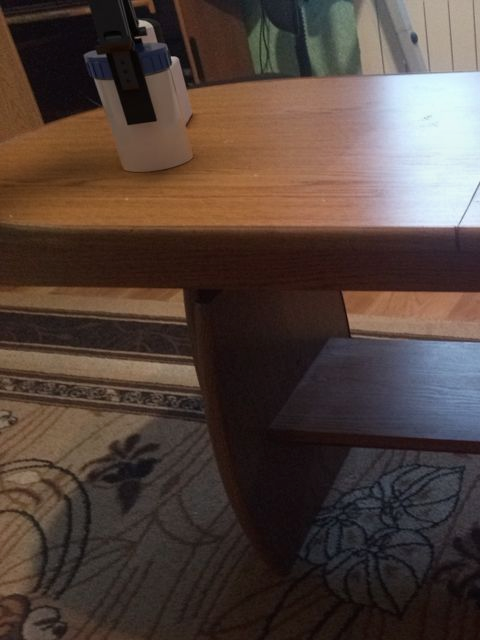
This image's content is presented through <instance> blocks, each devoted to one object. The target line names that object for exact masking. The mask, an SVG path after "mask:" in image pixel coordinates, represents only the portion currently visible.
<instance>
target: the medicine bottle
mask: <svg viewBox="0 0 480 640" xmlns="http://www.w3.org/2000/svg"><path fill="white" fill-rule="evenodd" d="M137 19H138V20H139V27H146V30H147V35H148V36H141V37H135V38H142V42H143V43H164V44H166V42H165V38H164V34H163V30H162V26H161V24H160V23H159V21H157V20H155V19H152V18H149V17H148V18H137ZM171 60H172V65H171V66H170V69H171V73H172V77H173V80H174V84H175V88H176V92H177V95H178V99H179V103H180V107H181V110H182V114H183V118H184V122H185V126H187V124H188V123H189V121H190V119H191V116H192V115H193V108H192V104H191V101H190V97H189V92H188V90H187V86H186V81H185V78H184V73H183V70H182V65H181V62H180V59H179V57H177V56H171Z"/></svg>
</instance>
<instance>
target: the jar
mask: <svg viewBox="0 0 480 640" xmlns="http://www.w3.org/2000/svg"><path fill="white" fill-rule="evenodd" d="M144 76H145V79H146V83H147V86H148V90H149V93H150V97H151V100H152V104H153V107H154V111H155V114H156V118H157V121H156V122H149V123H141V124H134V125H127V122H126V119H125V115H124V112H123V109H122V105H121V102H120V99H119V96H118V92H117V89H116V86H115V83H114V79H113V78H94V77H93V80H94V83H95V87H96V90H97V93H98V97H99V99H100V101H101V104H102V109H103V111H104V114H105V117H106V118H105V119H106V121H107V124H108V128H109V130H110V133H111V136H112V140H113V142H114V146H115V149H116V153H117V156H118V158H119V162H120V164H121V168H122V169H123V170H124V171H126V172H131V173H147V172H148V173H149V172H157V171H163V170H168V169H171V168H175V167H178V166H181V165H184V164H186V163H188V162H190V161H192V159H193V158H194V152H193V148H192V145H191V141H190V138H189V134H188V129H187V125H185V122H184V118H183V114H182V110H181V107H180V103H179V99H178V95H177V92H176V88H175V84H174V80H173V77H172V73H171V69H170V67H169V68H167V69H164V70H161V71H158V72H154V73H149V74H144Z"/></svg>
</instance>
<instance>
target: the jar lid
mask: <svg viewBox="0 0 480 640" xmlns="http://www.w3.org/2000/svg"><path fill="white" fill-rule="evenodd" d="M134 50H137V51H138V54H139V58H140V61H141V65H142V69H143V72H144V74H149V73H154V72H158V71H161V70H164V69H167V68H169V67H170V66H171V65H172V60H171V57H172V56H171V52H170V49H169V48H168V44H167V43H165V44H164V43H138V44H135V47H134ZM83 58H84V64H85V66H86V70H87V72H88V73H87V74H88V75H89V76H90V77H91V78H93V79H94V78H113V76H112V73H111V70H110V66H109V63H108V60H107V56H106V54H103V55H97V53H96V50H91V51H87V52H86V53H84V54H83Z"/></svg>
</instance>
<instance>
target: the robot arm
mask: <svg viewBox="0 0 480 640" xmlns="http://www.w3.org/2000/svg"><path fill="white" fill-rule="evenodd" d="M87 3H88V6H89V9H90V13H91V17H92V20H93V24H94V27H95V30H96V35H97V37H98V39H97V43H98V45H94V49H95V50H96V53H97V55H103V54H106V56H107V60H108V63H109V66H110V70H111V73H112V76H113V79H114V83H115V86H116V89H117V92H118V96H119V99H120V102H121V105H122V109H123V112H124V115H125V119H126V122H127V125H134V124H141V123H149V122H156V121H157V118H156V114H155V111H154V107H153V104H152V100H151V97H150V93H149V90H148V86H147V83H146V79H145V76H144V72H143V69H142V65H141V61H140V58H139V54H138V51H137V50H134V47H135V44H138V43H143V42H142V38H135V37H141V36H148V35H147V30H146V27H139V20H138V19H139V18H137V15H136V11H135V8H134V4H133V1H132V0H87Z"/></svg>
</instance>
